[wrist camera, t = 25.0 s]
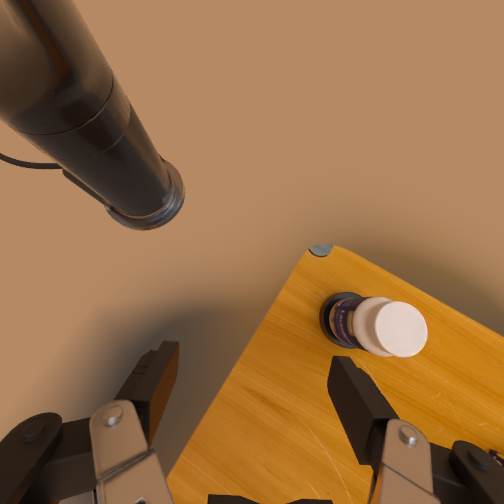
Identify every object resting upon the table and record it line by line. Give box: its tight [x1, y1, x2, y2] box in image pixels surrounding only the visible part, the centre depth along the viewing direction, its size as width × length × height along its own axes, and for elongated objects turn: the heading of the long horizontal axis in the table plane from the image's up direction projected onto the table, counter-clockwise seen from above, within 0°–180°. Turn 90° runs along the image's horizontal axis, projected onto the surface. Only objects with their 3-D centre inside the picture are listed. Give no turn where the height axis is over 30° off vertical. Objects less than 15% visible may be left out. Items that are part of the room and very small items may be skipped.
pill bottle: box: [329, 297, 427, 357], centre depth 25 cm, size 6×6×10 cm
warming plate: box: [320, 292, 361, 349], centre depth 30 cm, size 7×7×2 cm
